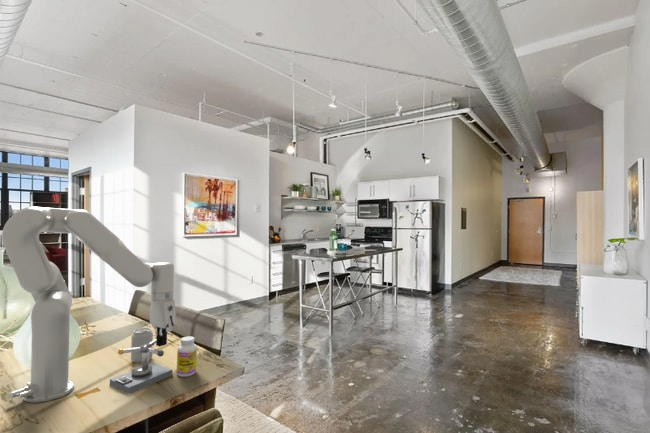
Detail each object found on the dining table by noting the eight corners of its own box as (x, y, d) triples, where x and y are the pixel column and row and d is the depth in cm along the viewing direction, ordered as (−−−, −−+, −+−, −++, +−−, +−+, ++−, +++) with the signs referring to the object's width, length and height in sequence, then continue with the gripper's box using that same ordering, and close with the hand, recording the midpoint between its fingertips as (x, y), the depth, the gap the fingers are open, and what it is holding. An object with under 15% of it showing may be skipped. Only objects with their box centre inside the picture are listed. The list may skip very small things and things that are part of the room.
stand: (128, 394, 112) (128, 382, 112) (109, 385, 117) (109, 373, 117) (172, 375, 126) (172, 364, 126) (153, 367, 131) (153, 357, 131)
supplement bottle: (175, 378, 123) (176, 342, 123) (178, 370, 130) (178, 336, 130) (195, 376, 125) (196, 340, 125) (196, 368, 131) (197, 334, 131)
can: (143, 364, 134) (144, 333, 134) (126, 362, 135) (127, 331, 135) (156, 357, 141) (157, 327, 141) (140, 355, 142) (141, 326, 142)
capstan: (159, 360, 132) (160, 335, 132) (163, 379, 118) (164, 351, 118) (117, 367, 125) (118, 341, 125) (116, 387, 111) (117, 358, 111)
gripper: (183, 296, 128) (183, 346, 128) (159, 291, 136) (158, 338, 136) (165, 300, 122) (164, 352, 122) (141, 295, 130) (140, 344, 130)
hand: (161, 345), depth 129 cm, fingers closed
